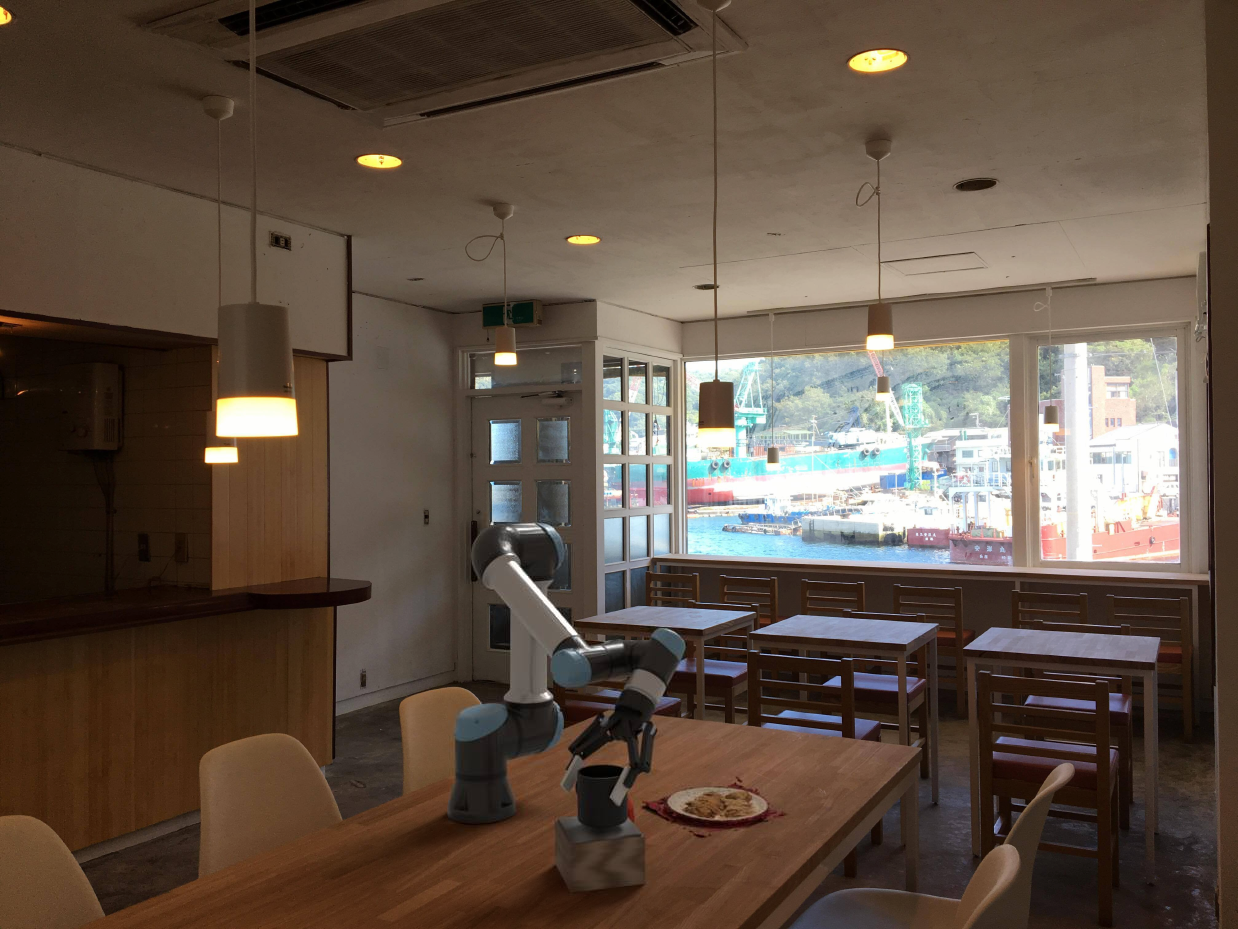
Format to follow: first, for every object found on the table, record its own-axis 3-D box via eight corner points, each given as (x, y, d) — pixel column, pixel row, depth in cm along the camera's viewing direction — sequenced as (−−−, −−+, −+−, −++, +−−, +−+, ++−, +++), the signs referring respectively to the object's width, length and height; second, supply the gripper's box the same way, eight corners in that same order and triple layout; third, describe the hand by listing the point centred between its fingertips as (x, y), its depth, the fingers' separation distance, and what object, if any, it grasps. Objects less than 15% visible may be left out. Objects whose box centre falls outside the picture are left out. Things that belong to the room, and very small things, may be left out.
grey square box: (570, 892, 177) (570, 842, 178) (555, 864, 191) (554, 817, 191) (645, 883, 181) (644, 834, 181) (625, 857, 195) (624, 810, 195)
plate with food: (641, 809, 226) (640, 793, 226) (736, 788, 239) (735, 773, 239) (700, 844, 205) (700, 826, 205) (801, 818, 217) (801, 802, 217)
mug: (593, 805, 194) (593, 759, 194) (638, 819, 185) (637, 770, 186) (557, 817, 187) (557, 769, 187) (602, 832, 179) (601, 781, 179)
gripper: (696, 718, 191) (648, 819, 179) (602, 702, 206) (552, 793, 194) (680, 695, 187) (629, 796, 175) (585, 680, 202) (533, 772, 190)
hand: (588, 795), depth 184 cm, fingers closed on mug, 12 cm apart
